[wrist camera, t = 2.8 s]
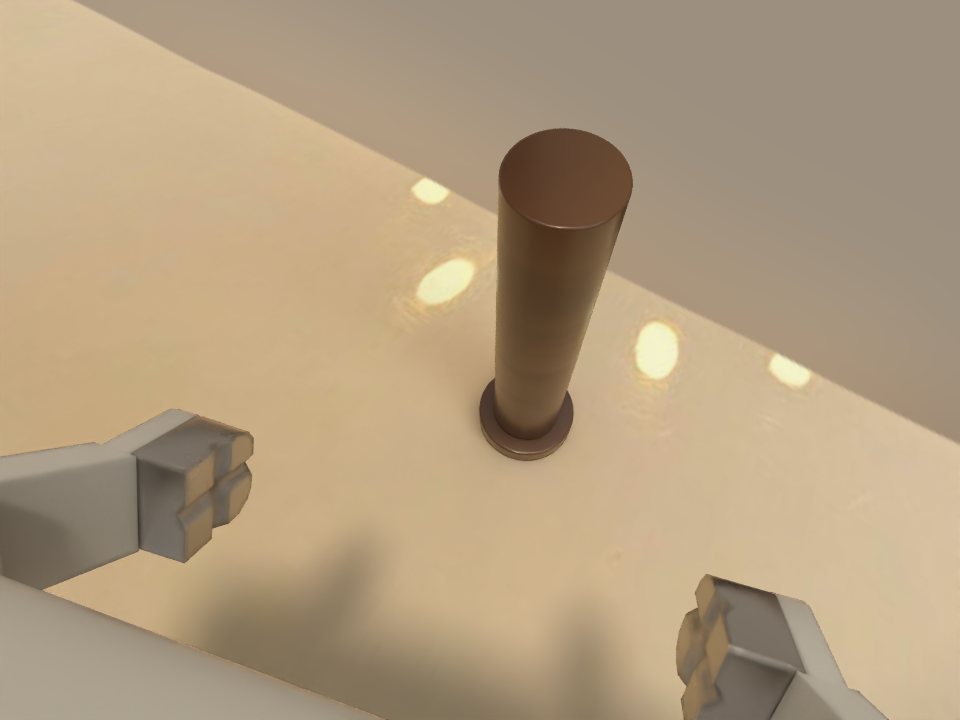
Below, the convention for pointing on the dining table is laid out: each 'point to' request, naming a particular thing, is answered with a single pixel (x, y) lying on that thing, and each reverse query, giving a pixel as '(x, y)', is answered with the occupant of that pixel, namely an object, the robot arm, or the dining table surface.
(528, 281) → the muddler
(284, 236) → the dining table surface
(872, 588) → the dining table surface
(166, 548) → the robot arm
